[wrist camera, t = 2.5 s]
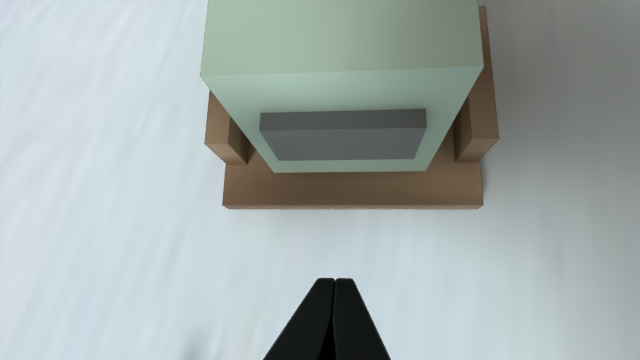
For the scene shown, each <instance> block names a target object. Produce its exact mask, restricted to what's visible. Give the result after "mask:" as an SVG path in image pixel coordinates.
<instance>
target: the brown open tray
mask: <svg viewBox="0 0 640 360" xmlns="http://www.w3.org/2000/svg"><path fill="white" fill-rule="evenodd" d="M478 10H479V21H480V31H481V41H482V52H483V62H484V67H483V69H482V71H481V72H480V74H479V76H478V78H477V80H476V81H475V83H474V85H473V87H472V89H471V90H470V92H469V94H468V96H467V98H466V99H465V101H464V103H463V105H462V107H461V108H460V110H459V112H458V114H457V116H456V117H455V119H454V121H453V123H452V125H451V126H450V128H449V130H448V132H447V134H446V135H445V137H444V139H443V141H442V143H441V144H440V146H439V148H438V150H437V152H436V153H435V155H434V157H433V159H432V160H431V162H430V164H429V166H428V168H427V169H426V171H399V172H295V173H274V172H273V171H272V169H271V168H270V167H269V165H268V164H267V163H266V161H265V160H264V159H263V158H262V156H261V155H260V154H259V152H258V151H257V150H256V148H255V147H254V146H253V145H252V143H251V142H250V141H249V139H248V138H247V137H246V135H245V134H244V133H243V132H242V130H241V129H240V128H239V126H238V125H237V124H236V122H235V121H234V120H233V118H232V117H231V116H230V115H229V113H228V112H227V111H226V109H225V108H224V107H223V105H222V104H221V103H220V102H219V100H218V99H217V98H216V96H215V95H214V94H213V92H212V91H211V90H210V92H209V103H208V113H207V123H206V133H205V143H204V144H205V145H206V146H207V147H208V148H209V149H211V150H212V151H213V152H214V153H215V154H216V155H217V156H218V157H219V158H220V159H222V160H223V161H224V162H225V163H226V167H225V179H224V191H223V203H222V205H223V206H225V207H226V208H228V209H478V208H479V207H481V206H482V205H483V195H482V183H481V172H480V159H481V158H482V157H483V156H484V154H485V153H486V152H487V151H488V150H489V149H490V148H491V147H492V146H493V145H494V144H495V143H496V142H497V141H498V139H499V133H498V124H497V114H496V104H495V94H494V84H493V75H492V65H491V55H490V45H489V35H488V26H487V16H486V6H478Z"/></svg>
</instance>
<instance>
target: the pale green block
mask: <svg viewBox="0 0 640 360" xmlns="http://www.w3.org/2000/svg"><path fill="white" fill-rule="evenodd" d="M483 67H484V62H483V52H482V41H481V31H480V21H479V10H478V0H208V6H207V16H206V25H205V35H204V44H203V54H202V63H201V72H200V77H201V78H202V79H203V81H204V82H205V83H206V85H207V86H208V87H209V89H210V90H211V91H212V92H213V94H214V95H215V96H216V98H217V99H218V100H219V102H220V103H221V104H222V105H223V107H224V108H225V109H226V111H227V112H228V113H229V115H230V116H231V117H232V118H233V120H234V121H235V122H236V124H237V125H238V126H239V128H240V129H241V130H242V132H243V133H244V134H245V135H246V137H247V138H248V139H249V141H250V142H251V143H252V145H253V146H254V147H255V148H256V150H257V151H258V152H259V154H260V155H261V156H262V158H263V159H264V160H265V161H266V163H267V164H268V165H269V167H270V168H271V169H272V171H273V172H274V173H295V172H399V171H426V169H427V168H428V166H429V164H430V162H431V160H432V159H433V157H434V155H435V153H436V152H437V150H438V148H439V146H440V144H441V143H442V141H443V139H444V137H445V135H446V134H447V132H448V130H449V128H450V126H451V125H452V123H453V121H454V119H455V117H456V116H457V114H458V112H459V110H460V108H461V107H462V105H463V103H464V101H465V99H466V98H467V96H468V94H469V92H470V90H471V89H472V87H473V85H474V83H475V81H476V80H477V78H478V76H479V74H480V72H481V71H482V69H483Z"/></svg>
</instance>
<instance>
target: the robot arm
mask: <svg viewBox="0 0 640 360" xmlns="http://www.w3.org/2000/svg"><path fill="white" fill-rule="evenodd" d="M263 360H391V359H390V356H389V354H388V352H387V350H386V348H385V346H384V344H383V342H382V339H381V337H380V335H379V333H378V331H377V329H376V327H375V325H374V322H373V320H372V318H371V316H370V314H369V312H368V310H367V308H366V306H365V303H364V301H363V299H362V297H361V295H360V293H359V291H358V289H357V286H356V284H355V282H354V281H353V279H350V278H337V279H336V281H335V279H333V278H319V279H317V280H316V282H315V283H314V285H313V286H312V288H311V289H310V291H309V292H308V294H307V295H306V297H305V298H304V300H303V301H302V302H301V304H300V305H299V307H298V308H297V310H296V311H295V313H294V314H293V316H292V317H291V319H290V320H289V322H288V323H287V325H286V326H285V328H284V329H283V331H282V332H281V334H280V335H279V336H278V338H277V339H276V341H275V342H274V344H273V345H272V347H271V348H270V350H269V351H268V353H267V354H266V356H265V357H264V359H263Z"/></svg>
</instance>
